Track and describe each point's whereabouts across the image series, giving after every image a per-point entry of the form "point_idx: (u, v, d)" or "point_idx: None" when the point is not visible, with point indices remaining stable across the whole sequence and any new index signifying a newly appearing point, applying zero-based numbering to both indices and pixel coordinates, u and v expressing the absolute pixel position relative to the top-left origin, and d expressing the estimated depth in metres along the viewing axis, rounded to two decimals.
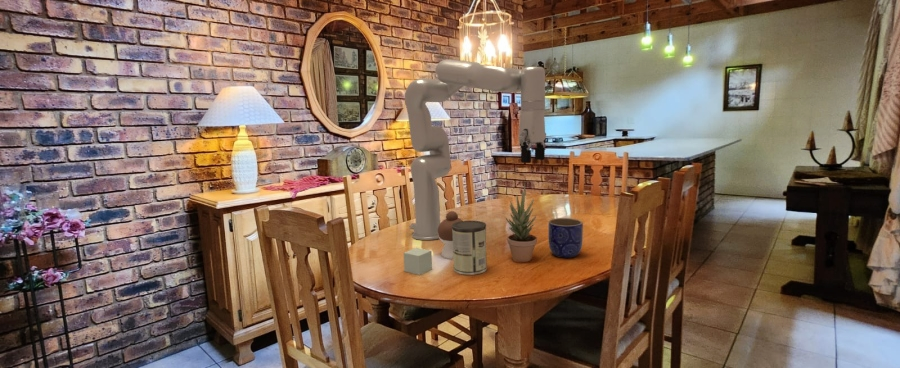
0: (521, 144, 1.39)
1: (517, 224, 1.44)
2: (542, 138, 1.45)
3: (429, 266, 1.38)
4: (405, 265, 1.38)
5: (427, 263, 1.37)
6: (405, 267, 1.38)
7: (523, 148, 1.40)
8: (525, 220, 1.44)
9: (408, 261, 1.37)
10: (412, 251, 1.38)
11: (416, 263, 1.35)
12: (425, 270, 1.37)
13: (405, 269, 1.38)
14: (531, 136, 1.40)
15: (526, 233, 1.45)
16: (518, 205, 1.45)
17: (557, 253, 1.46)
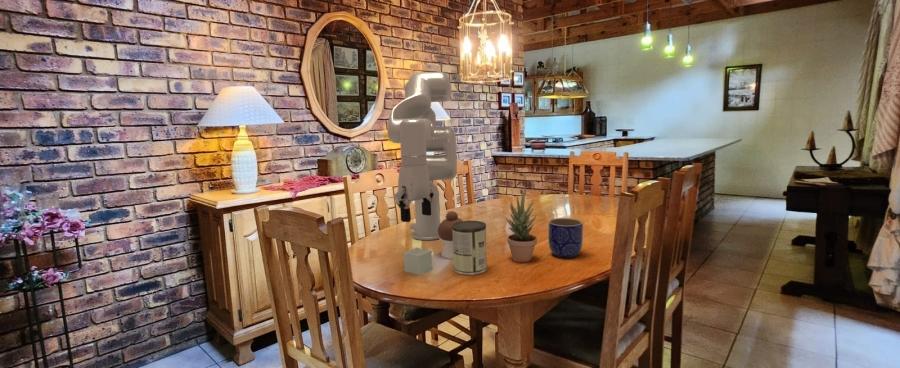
0: (397, 203, 1.30)
1: (517, 224, 1.44)
2: (426, 194, 1.36)
3: (429, 266, 1.38)
4: (405, 265, 1.38)
5: (427, 263, 1.37)
6: (405, 267, 1.38)
7: (401, 207, 1.31)
8: (525, 220, 1.44)
9: (408, 261, 1.37)
10: (412, 251, 1.38)
11: (416, 262, 1.35)
12: (425, 270, 1.37)
13: (405, 269, 1.38)
14: (409, 194, 1.30)
15: (526, 233, 1.45)
16: (518, 205, 1.45)
17: (557, 253, 1.46)
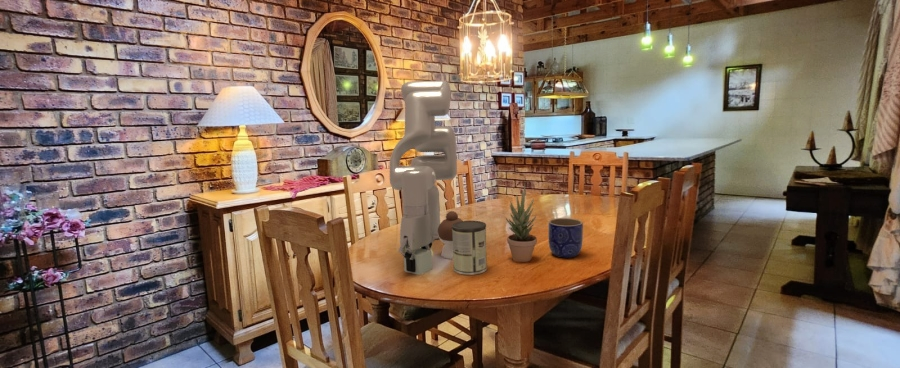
0: (403, 255, 1.33)
1: (517, 224, 1.44)
2: (427, 242, 1.38)
3: (429, 265, 1.38)
4: (405, 265, 1.38)
5: (427, 263, 1.37)
6: (405, 267, 1.38)
7: (406, 258, 1.34)
8: (525, 220, 1.44)
9: None
10: None
11: (416, 262, 1.35)
12: (425, 270, 1.37)
13: (405, 269, 1.38)
14: (411, 244, 1.33)
15: (526, 233, 1.45)
16: (518, 205, 1.45)
17: (557, 253, 1.46)
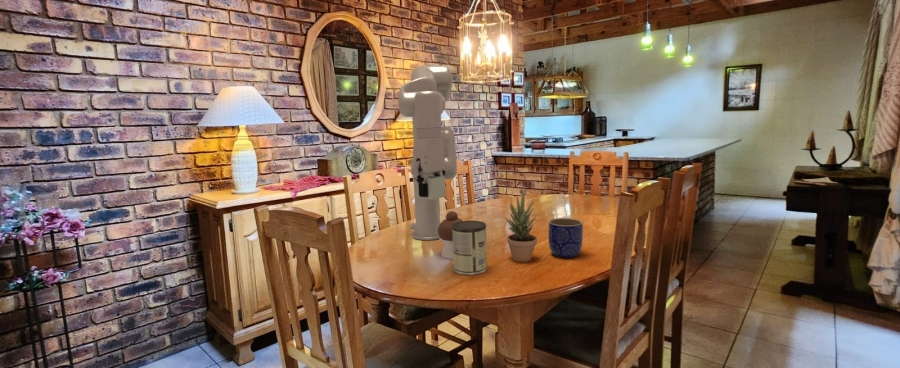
0: (416, 178, 1.30)
1: (517, 224, 1.44)
2: (440, 167, 1.34)
3: (442, 192, 1.35)
4: (417, 191, 1.34)
5: (440, 189, 1.34)
6: (417, 193, 1.34)
7: (419, 181, 1.31)
8: (525, 220, 1.44)
9: None
10: None
11: (429, 187, 1.31)
12: (438, 196, 1.33)
13: (417, 195, 1.34)
14: (423, 166, 1.29)
15: (526, 233, 1.45)
16: (518, 205, 1.45)
17: (557, 253, 1.46)
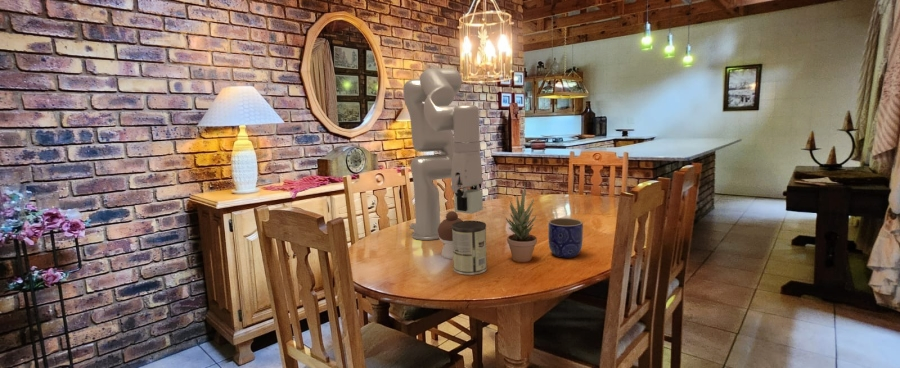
0: (455, 192, 1.30)
1: (517, 224, 1.44)
2: (478, 181, 1.35)
3: (480, 206, 1.35)
4: (456, 205, 1.34)
5: (478, 203, 1.34)
6: (456, 207, 1.34)
7: (458, 196, 1.31)
8: (525, 220, 1.44)
9: None
10: None
11: (468, 201, 1.31)
12: (476, 209, 1.33)
13: (455, 209, 1.34)
14: (463, 180, 1.29)
15: (526, 233, 1.45)
16: (518, 205, 1.45)
17: (557, 253, 1.46)
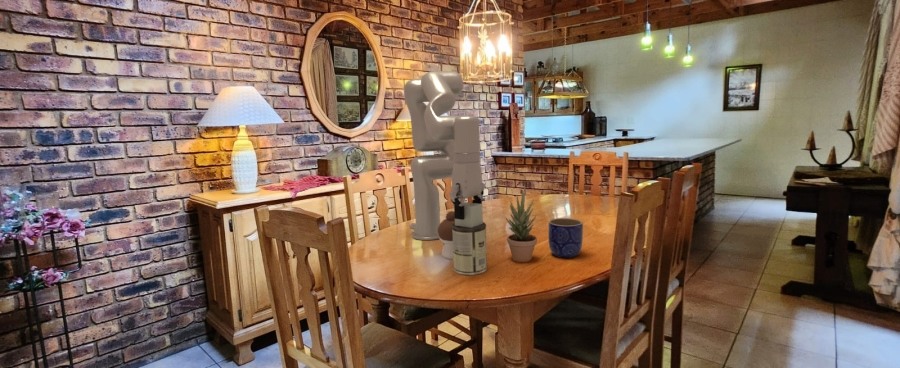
0: (453, 200, 1.29)
1: (517, 224, 1.44)
2: (478, 191, 1.35)
3: (480, 219, 1.36)
4: None
5: (478, 216, 1.35)
6: (456, 220, 1.35)
7: (455, 204, 1.30)
8: (525, 220, 1.44)
9: None
10: (463, 204, 1.36)
11: (468, 215, 1.32)
12: (476, 223, 1.34)
13: (456, 222, 1.35)
14: (463, 191, 1.30)
15: (526, 233, 1.45)
16: (518, 205, 1.45)
17: (557, 253, 1.46)
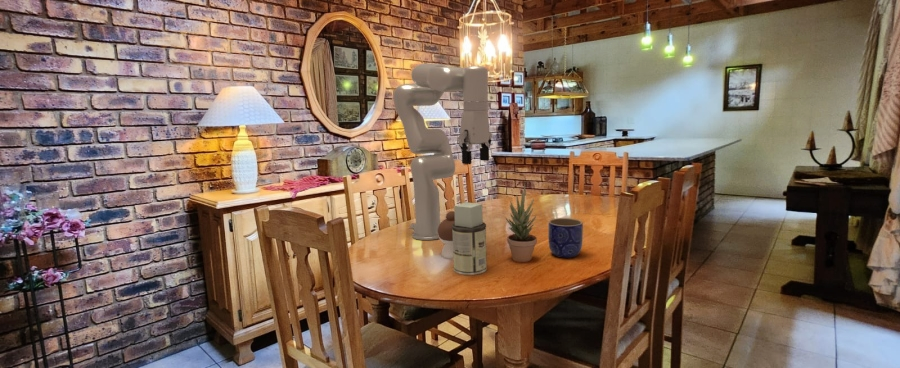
0: (460, 145, 1.37)
1: (517, 224, 1.44)
2: (485, 139, 1.43)
3: (480, 219, 1.36)
4: (456, 218, 1.35)
5: (478, 216, 1.35)
6: (456, 220, 1.35)
7: (463, 149, 1.38)
8: (525, 220, 1.44)
9: (459, 214, 1.34)
10: (463, 204, 1.36)
11: (468, 215, 1.32)
12: (476, 223, 1.34)
13: (456, 223, 1.35)
14: (471, 137, 1.38)
15: (526, 233, 1.45)
16: (518, 205, 1.45)
17: (557, 253, 1.46)
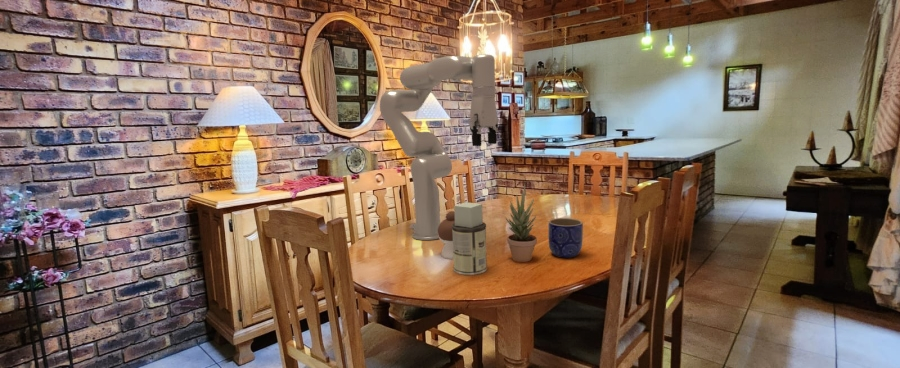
0: (471, 128, 1.47)
1: (517, 224, 1.44)
2: (493, 123, 1.53)
3: (480, 219, 1.36)
4: (456, 218, 1.35)
5: (478, 216, 1.35)
6: (456, 220, 1.35)
7: (473, 132, 1.48)
8: (525, 220, 1.44)
9: (459, 214, 1.34)
10: (463, 204, 1.36)
11: (468, 215, 1.32)
12: (476, 223, 1.34)
13: (456, 223, 1.35)
14: (481, 120, 1.47)
15: (526, 233, 1.45)
16: (518, 205, 1.45)
17: (557, 253, 1.46)
